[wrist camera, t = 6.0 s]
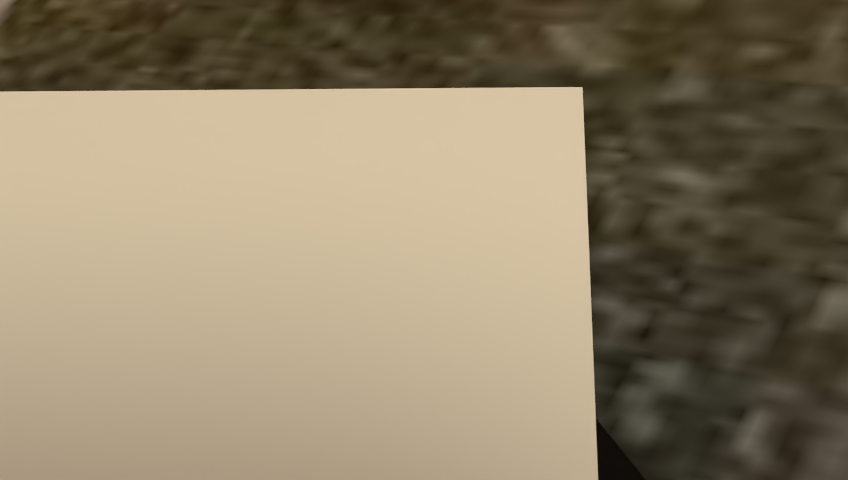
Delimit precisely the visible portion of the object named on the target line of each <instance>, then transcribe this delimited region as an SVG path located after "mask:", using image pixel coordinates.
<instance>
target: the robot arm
mask: <svg viewBox="0 0 848 480" xmlns="http://www.w3.org/2000/svg"><path fill="white" fill-rule="evenodd" d="M596 438H597V463H598V480H645V478H644V477H643V476H642V475H641V473H640V472H639V471H638V470H637V468H636V467H635V466H634V465H633V464H632V462H631V461H630V460H629V459H628V457H627V456H626V455H625V454H624V452H623V451H622V450H621V449H620V447H619V446H618V445H617V444H616V443H615V441H614V440H613V439H612V438H611V436H610V435H609V434H608V433H607V431H606V430H605V429H604V428H603V426H602V425H601V424H600V423H599V422H598V420H597V419H596Z"/></svg>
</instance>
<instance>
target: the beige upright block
mask: <svg viewBox="0 0 848 480" xmlns="http://www.w3.org/2000/svg"><path fill="white" fill-rule="evenodd" d="M0 480H598V463H597V438H596V413H595V388H594V363H593V338H592V314H591V289H590V264H589V239H588V214H587V189H586V164H585V139H584V114H583V89H582V87H540V88H413V89H286V90H158V91H31V92H0Z"/></svg>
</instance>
